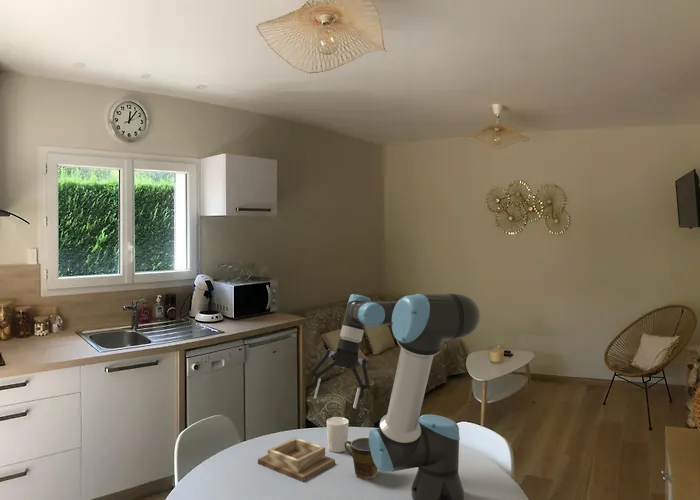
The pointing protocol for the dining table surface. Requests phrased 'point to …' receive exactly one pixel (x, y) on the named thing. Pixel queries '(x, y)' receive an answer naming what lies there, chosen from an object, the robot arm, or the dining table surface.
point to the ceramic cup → (362, 458)
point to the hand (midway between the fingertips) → (334, 403)
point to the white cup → (337, 433)
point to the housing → (297, 459)
